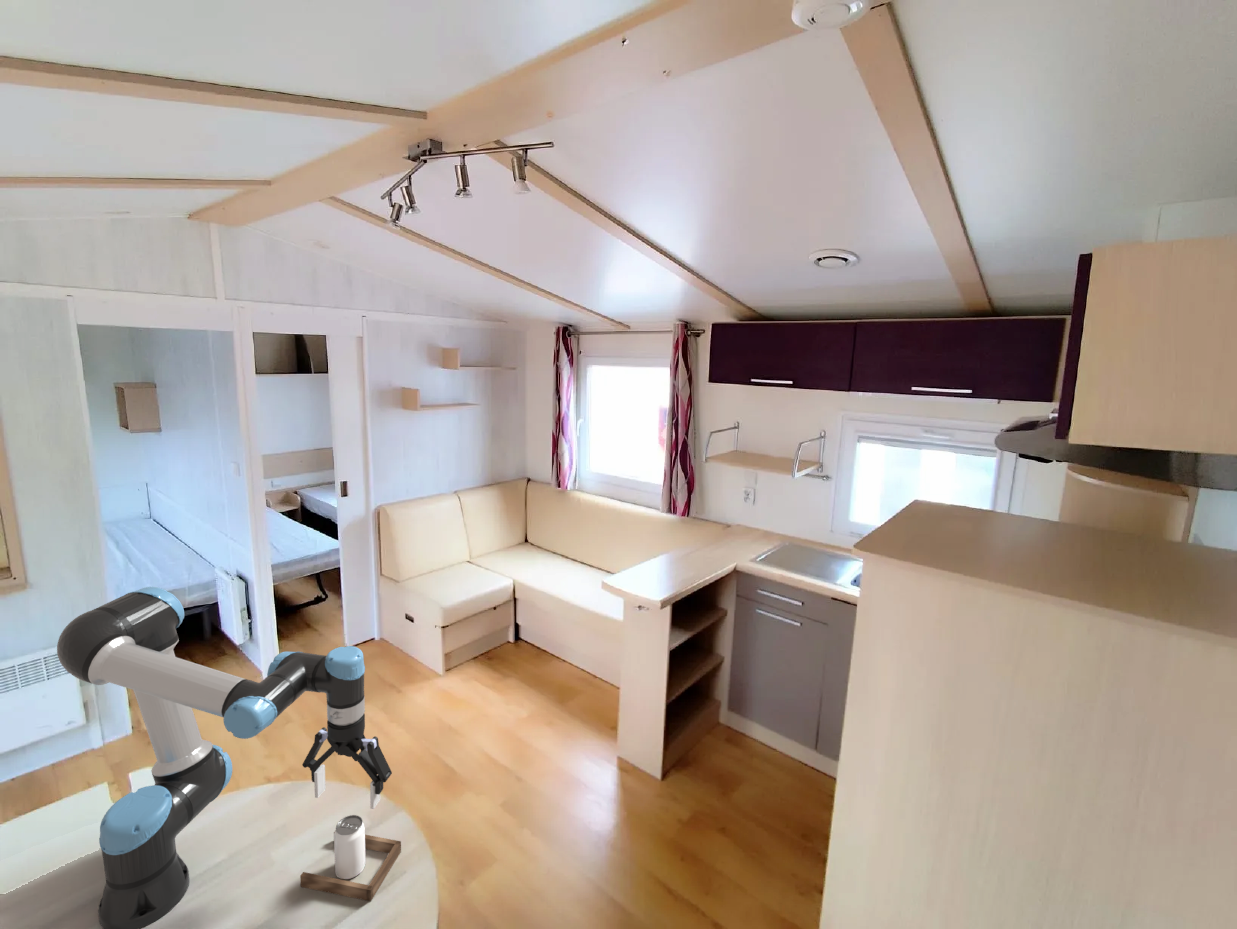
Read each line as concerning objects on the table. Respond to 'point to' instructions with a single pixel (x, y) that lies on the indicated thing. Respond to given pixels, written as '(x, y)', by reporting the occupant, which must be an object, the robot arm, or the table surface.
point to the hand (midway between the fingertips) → (347, 798)
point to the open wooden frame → (351, 887)
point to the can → (349, 847)
